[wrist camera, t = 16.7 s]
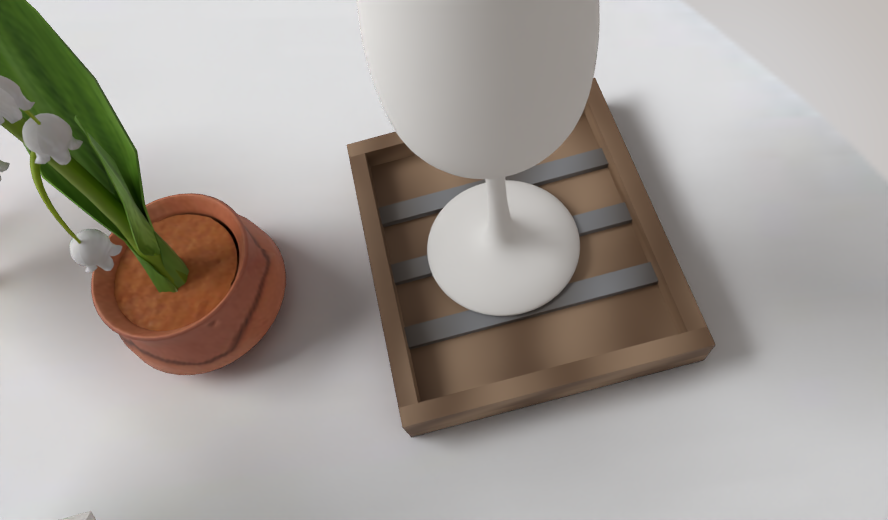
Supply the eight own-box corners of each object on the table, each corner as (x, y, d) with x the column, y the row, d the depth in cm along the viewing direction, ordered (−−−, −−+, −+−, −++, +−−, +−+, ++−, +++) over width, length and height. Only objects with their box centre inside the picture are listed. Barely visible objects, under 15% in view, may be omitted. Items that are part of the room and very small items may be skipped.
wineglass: (595, 199, 37) (652, -176, 19) (557, 335, 34) (581, 44, 15) (455, 169, 40) (381, -193, 21) (406, 294, 36) (267, -4, 18)
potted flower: (322, 373, 36) (-15, 56, 14) (154, 441, 36) (-465, 223, 14) (274, 208, 42) (-25, -209, 20) (127, 265, 41) (-349, -95, 19)
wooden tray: (411, 436, 34) (402, 427, 32) (356, 167, 42) (346, 144, 40) (703, 359, 34) (715, 344, 32) (592, 104, 42) (595, 77, 40)
